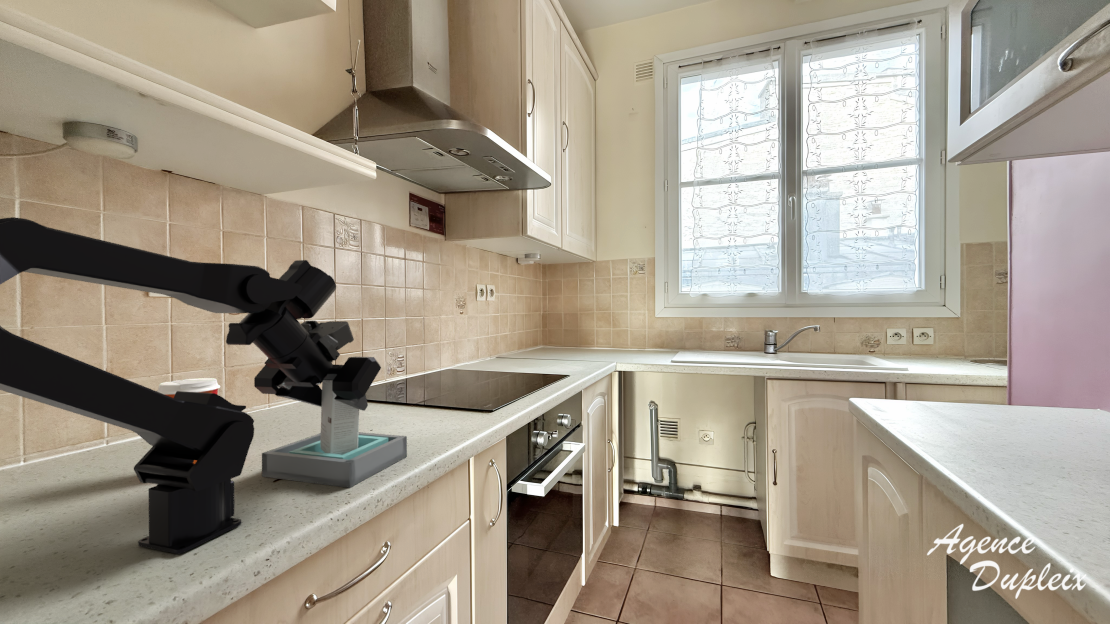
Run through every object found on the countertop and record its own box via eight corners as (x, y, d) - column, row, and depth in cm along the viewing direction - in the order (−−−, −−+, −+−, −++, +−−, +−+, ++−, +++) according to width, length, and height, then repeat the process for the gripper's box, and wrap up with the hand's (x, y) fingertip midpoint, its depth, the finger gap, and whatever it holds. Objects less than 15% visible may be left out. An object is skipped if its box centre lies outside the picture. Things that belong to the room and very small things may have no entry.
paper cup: (143, 476, 63) (142, 384, 63) (199, 459, 71) (198, 376, 71) (178, 482, 61) (178, 386, 61) (233, 464, 68) (232, 378, 68)
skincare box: (319, 449, 67) (318, 373, 68) (348, 443, 70) (348, 371, 71) (330, 458, 63) (329, 377, 63) (361, 451, 66) (361, 374, 66)
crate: (349, 487, 59) (349, 462, 59) (262, 476, 63) (261, 453, 63) (406, 456, 71) (406, 436, 71) (330, 449, 75) (330, 429, 75)
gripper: (372, 302, 61) (417, 369, 71) (272, 303, 66) (328, 366, 76) (329, 361, 53) (386, 427, 63) (219, 358, 58) (289, 419, 68)
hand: (346, 406), depth 68 cm, fingers closed on skincare box, 7 cm apart
